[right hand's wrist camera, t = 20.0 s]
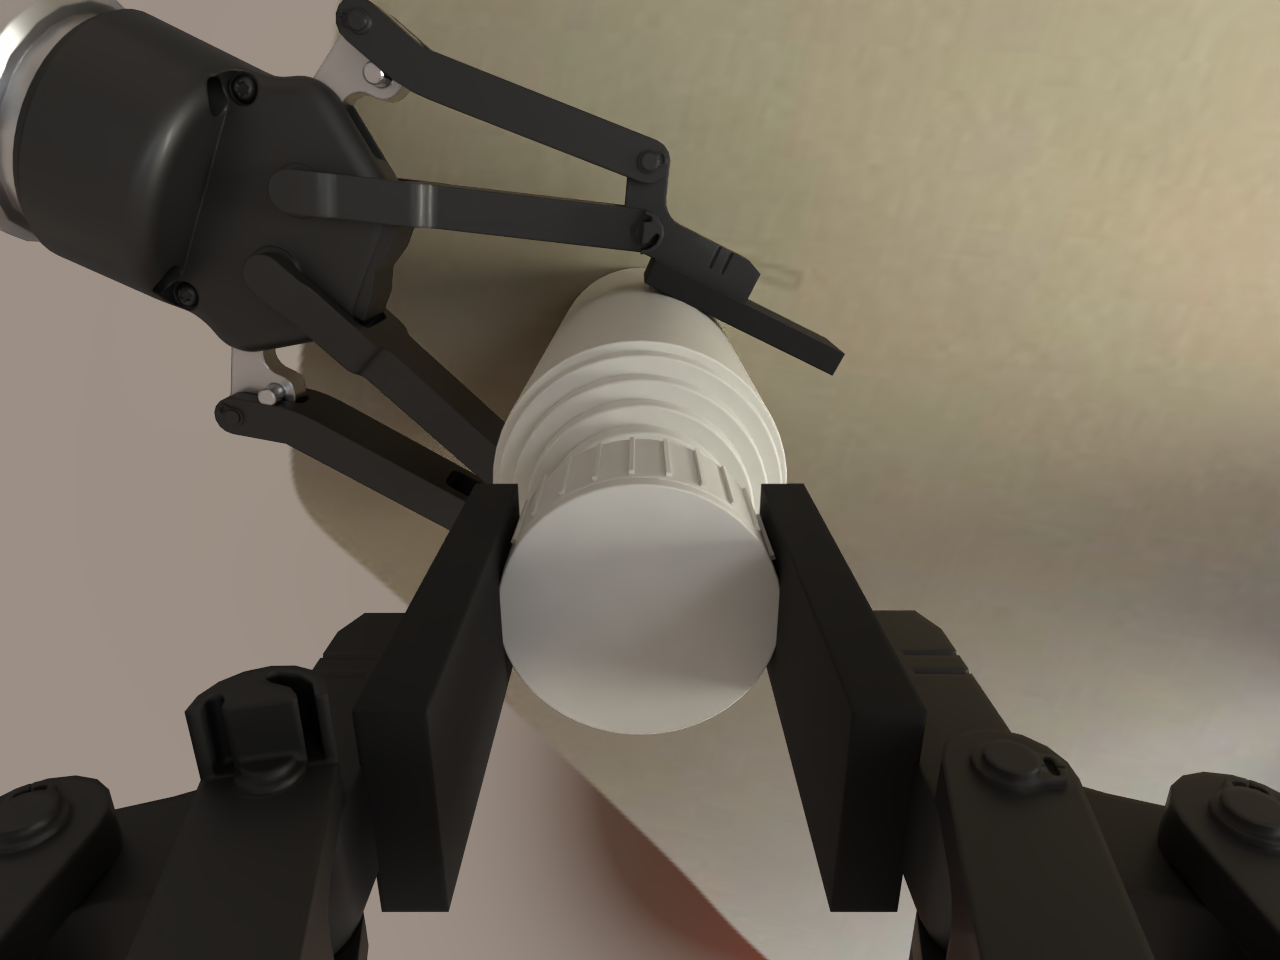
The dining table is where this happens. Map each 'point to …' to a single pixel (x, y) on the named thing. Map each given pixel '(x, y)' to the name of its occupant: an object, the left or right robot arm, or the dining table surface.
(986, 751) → the right robot arm
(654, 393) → the bottle
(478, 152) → the dining table surface
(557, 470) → the cap
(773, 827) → the dining table surface
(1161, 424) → the dining table surface
